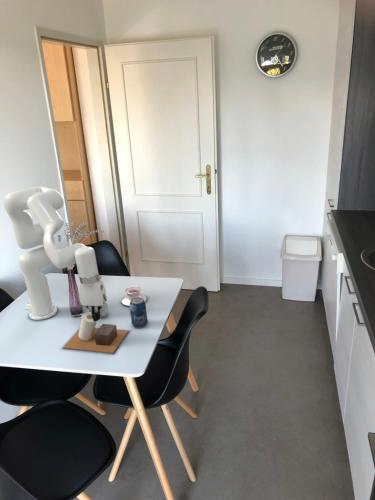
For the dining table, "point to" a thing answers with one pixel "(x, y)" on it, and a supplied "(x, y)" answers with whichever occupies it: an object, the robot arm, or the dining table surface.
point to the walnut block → (105, 334)
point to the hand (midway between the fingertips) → (96, 319)
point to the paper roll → (87, 327)
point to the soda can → (138, 312)
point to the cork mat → (91, 345)
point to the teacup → (132, 294)
